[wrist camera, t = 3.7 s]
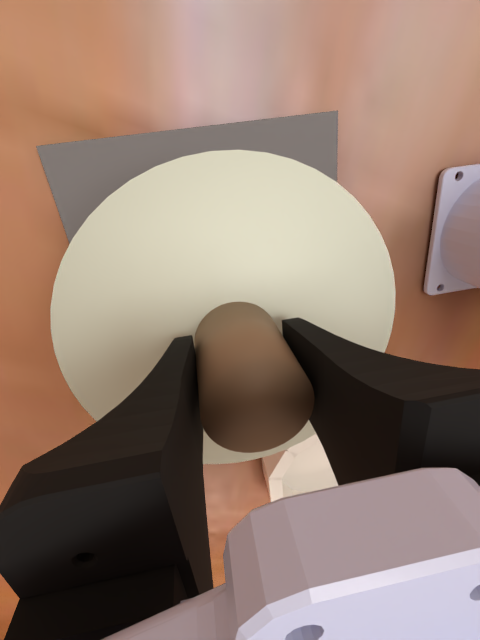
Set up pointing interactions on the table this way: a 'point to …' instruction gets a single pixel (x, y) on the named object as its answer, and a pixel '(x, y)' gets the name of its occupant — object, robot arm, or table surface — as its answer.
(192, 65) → the table surface
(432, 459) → the robot arm
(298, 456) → the bowl
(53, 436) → the table surface
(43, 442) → the table surface
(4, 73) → the table surface
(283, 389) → the lid
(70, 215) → the mat
